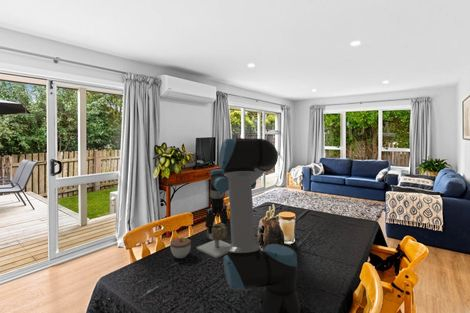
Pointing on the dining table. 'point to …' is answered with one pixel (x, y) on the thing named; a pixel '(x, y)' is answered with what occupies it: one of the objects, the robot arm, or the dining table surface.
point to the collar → (218, 232)
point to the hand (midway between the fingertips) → (216, 236)
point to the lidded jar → (180, 247)
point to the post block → (215, 248)
